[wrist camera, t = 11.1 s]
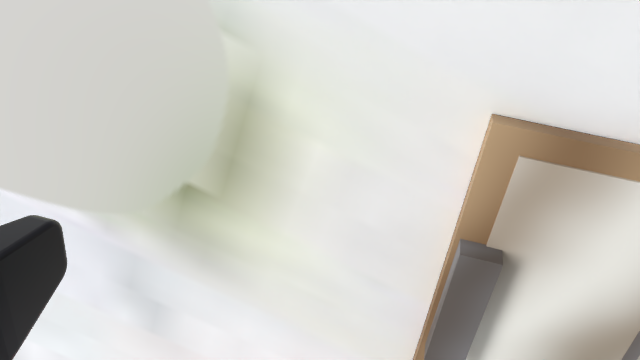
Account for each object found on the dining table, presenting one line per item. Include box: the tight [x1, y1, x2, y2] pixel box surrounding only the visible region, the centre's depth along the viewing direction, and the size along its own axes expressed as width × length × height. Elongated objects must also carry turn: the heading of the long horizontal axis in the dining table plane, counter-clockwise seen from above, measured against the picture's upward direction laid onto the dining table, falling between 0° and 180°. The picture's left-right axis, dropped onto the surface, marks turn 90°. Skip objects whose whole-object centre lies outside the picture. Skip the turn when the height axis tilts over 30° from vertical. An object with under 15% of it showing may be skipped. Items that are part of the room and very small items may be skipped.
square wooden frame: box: [413, 114, 640, 360], centre depth 22 cm, size 16×16×2 cm
